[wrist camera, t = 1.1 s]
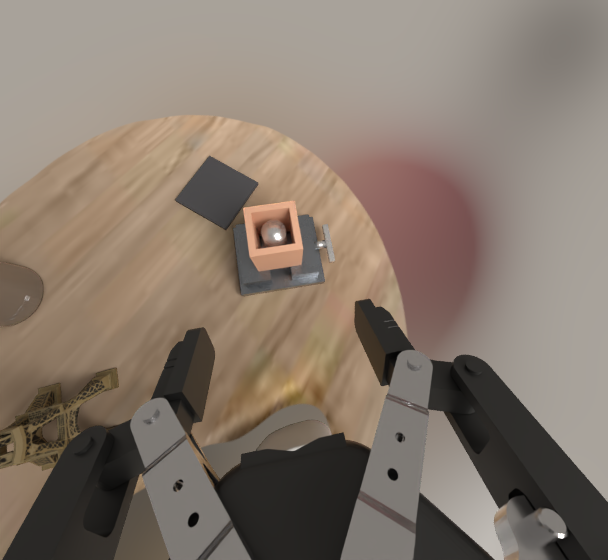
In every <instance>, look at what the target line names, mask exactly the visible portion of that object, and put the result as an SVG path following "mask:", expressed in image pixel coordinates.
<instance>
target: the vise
mask: <svg viewBox="0 0 608 560" xmlns="http://www.w3.org/2000/svg"><path fill="white" fill-rule="evenodd" d="M297 217H298V222H299V228H300V233H301V239H302V244H303V256H302V265H298V266H291V267H285V268H279V269H272V270H266V271H258V270H257V268H256V266H255V265H254V263H253V262H252V260H251V258H250V256H249V248H248V241H247V233H246V226H245V224H238V225H236V228H233V231H234V239H235V248H236V256H237V264H238V272H239V280H240V288H241V295H242V296H248V295H254V294H261V293H267V292H273V291H279V290H285V289H291V288H297V287H303V286H309V285H316V284H322V283H324V282H325V279H324V273H323V268H322V263H321V258H320V253H319V249H322V248H326V249H327V254H328V259H329V263H333V262H335V257H334V253H333V248H332V243H331V238H330V233H329V228H328V224H325V225H322V229H323V234H324V239H325V240H322V241H317V237H316V232H315V227H314V222H313V217H309V215H302V216H297ZM259 238H260V245H261V249H262V248H268V247H275V246H282V245H288V244H292V239H291V233H290V231H287V232H286V229H285V226H284V225H283V223H281V222H280V221H277V220H270V221H267V222H266V223H265V224H264V225H263V226H262V229H261V235H260V236H259Z"/></svg>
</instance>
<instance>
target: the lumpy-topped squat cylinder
mask: <svg viewBox="0 0 608 560" xmlns="http://www.w3.org/2000/svg"><path fill="white" fill-rule="evenodd" d="M329 435H332V434H331V431H330V429H329V428H328V426H327V425H325V424H324V423H323V422H320V421H318V420H306V421H302V422H298V423H294V424H291V425H288V426H286V427H283V428H281V429H278V430H276V431H275V432H273V433H271V434H270V435H268V436H267V437H266V438H265V439H264V441H263V442H262V443H261V444H260V445H259V447H258V448H257V449H256V451H259V450H263V449H276V450H287V451H295V450H297V449H299V448H301V447H303V446H304V445H306V444H308V443H310V442H312V441H314V440H316V439H317V438H320V437H325V436H329Z"/></svg>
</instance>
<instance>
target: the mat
mask: <svg viewBox="0 0 608 560" xmlns="http://www.w3.org/2000/svg"><path fill="white" fill-rule="evenodd" d="M257 186H258V182H256V181H254V180H252V179H251V178H249V177H247V176H245V175H243V174H242V173H240V172H238V171H236V170H234V169H233V168H231V167H229V166H227V165H225V164H224V163H222V162H220V161H218V160H216V159H215V158H213V157H211V156H209V157H208V158H207V160H206V161H205V162H204V164H203V165H202V166H201V167H200V169H199V170H198V171H197V172H196V174H195V175H194V176H193V178H192V179H191V180H190V181H189V183H188V184H187V185H186V187H185V188H184V189H183V190H182V192H181V193H180V194H179V195H178V197H177V198H176V199H175V200H176V201H177V202H178V203H180V204H182V205H183V206H185V207H187V208H189V209H190V210H192V211H194V212H196V213H197V214H199V215H201V216H203V217H204V218H206V219H208V220H210V221H211V222H213V223H215V224H216V225H218V226H220V227H222V228H223V229H225V230H226V229H227V228H228V227H229V225H230V224H231V222H232V221H233V219H234V218H235V217H236V215H237V214H238V212H239V211H240V210H241V208H242V207H243V205H244V204H245V202H246V201H247V200H248V198H249V197H250V195H251V194H252V193H253V191H254V190H255V188H256V187H257Z"/></svg>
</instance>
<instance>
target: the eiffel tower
mask: <svg viewBox="0 0 608 560" xmlns="http://www.w3.org/2000/svg"><path fill="white" fill-rule="evenodd" d="M118 387H119V384H118V374H117V368H114V369H110V370H107V371H103V372H99V373H96V377H94V378H93V379H92V380H91V381H90V382H89V383H88V384H87V386H86V387H85V388H84V389H83V390H82V391H81V392H80V393H79V394H78V395H77V396H76V397H74V398H72V399H71V400H69V401H67V402H63V403H62V402H61V387H60V383H58V384H54V385H50V386H47V387H43V388H39V389H38V395H37V396H36V397H35V399H34V400H33V402H32V403H31V405H30V406H29V408H28V410H27V411H26V413H25V414H22V415H19V416H16V417H15V419H16V421H15V422H14V423H12V424H11V425H10V426H8V427H7V428H5V429H3V430H1V431H0V469H2V468H5V467H9V466H12V465H16V464H17V465H20V464H23V463H26V462H31V463H33V464H35V465H38V466H42V471H43V470H46V469H50V468H53V467H55V465H56V463H57V461H58V460H59V458H60V456H61V454H62V452H63V451H64V449H65V448H66V446H67V445H68V444H69V443H70V442H71V440H72V439H74V438H75V437H76V436H77V435H78V434H80V433H81V431H80V429H79V427H78V425H77V416H78V411H79V407H80V405H81V404H83V403H84V402H86V401H88V400H90V399H91V398H93V397H95V396H97V395H98V394H100V393H102V392H104V391H107V390H111V389H114V388H118ZM55 418H57V430H58V440H57V441H55V442H47V441H46V440H45V439H44V438H43V435H42V426H44V425H46V424H47V423H49V422H51V421H52V420H54V419H55ZM113 428H114V427H113ZM110 429H112V428H109V429H106V430H110ZM12 442H14V451H11V452H7V445H8V444H10V443H12ZM17 465H16V466H17Z"/></svg>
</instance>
